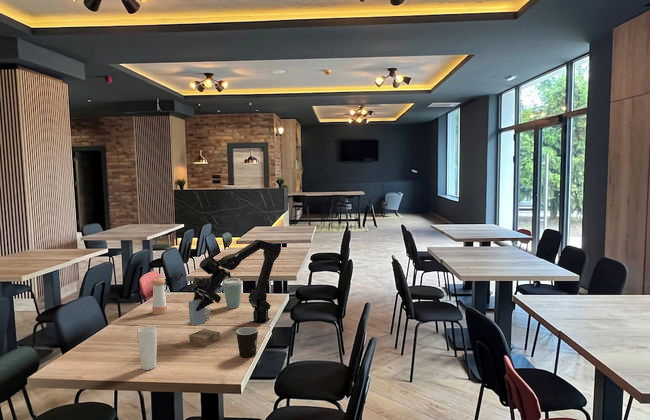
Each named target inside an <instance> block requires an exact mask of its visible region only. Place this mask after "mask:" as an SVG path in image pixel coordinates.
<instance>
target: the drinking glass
mask: <svg viewBox="0 0 650 420" xmlns="http://www.w3.org/2000/svg"><path fill="white" fill-rule="evenodd" d="M157 331H158V329H157V327H156V326H154V325H147V326H146V325H145V326H143V327H139V328H138V329H137V345H138V350H139V351H138V352H139V358H140V366H141V367H140V368H141V369H142V370H143V371H149V370H150V369H151V370H153V369H155V368H156V366H157V354H158V353H157V349H158V332H157Z"/></svg>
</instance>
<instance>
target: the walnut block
mask: <svg viewBox="0 0 650 420" xmlns="http://www.w3.org/2000/svg"><path fill="white" fill-rule="evenodd" d="M220 338H221V336H220V331H217V330H212V329H207V328H203V329H201V330H198V331H196V332H193V333H192V334H189V335H188V339H189V340H188V341H189V344H190V345H193V346H199V347H202V348H206V347H209V346H210V345H212V344H214V343H218V342H219V341H220V340H221V339H220Z"/></svg>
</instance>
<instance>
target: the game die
mask: <svg viewBox="0 0 650 420" xmlns="http://www.w3.org/2000/svg"><path fill="white" fill-rule="evenodd" d="M212 312H213V310H212V309H211V308H210V305H208V306H206V307H205V320H209V321H211V319H210V316H211V313H212Z"/></svg>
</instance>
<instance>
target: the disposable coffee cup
mask: <svg viewBox="0 0 650 420" xmlns="http://www.w3.org/2000/svg"><path fill="white" fill-rule="evenodd" d="M242 283H243V282H242V280H241V279H240V278H238V277H231V278H225V279H224V280H223V282H222V283H221V285H222V288H223V293H224V298H225V302H226V303H225V304H226V306H227V307H226V308H228V309H238V308H239V307H240V305H241V293H242V291H241V290H242Z"/></svg>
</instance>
